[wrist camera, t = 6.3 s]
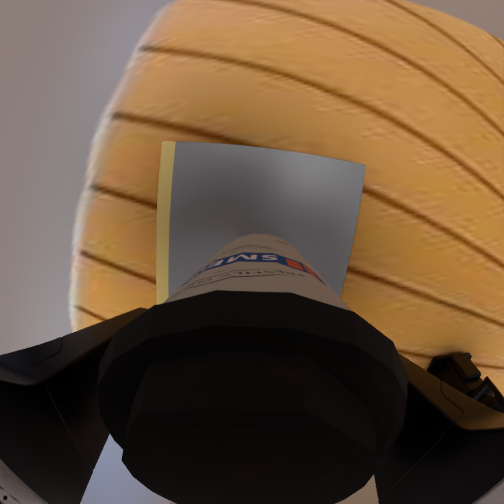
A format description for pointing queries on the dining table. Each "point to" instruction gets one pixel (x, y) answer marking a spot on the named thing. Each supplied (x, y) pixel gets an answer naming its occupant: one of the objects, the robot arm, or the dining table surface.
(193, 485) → the coffee cup
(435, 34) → the dining table surface
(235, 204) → the dock
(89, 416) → the robot arm
